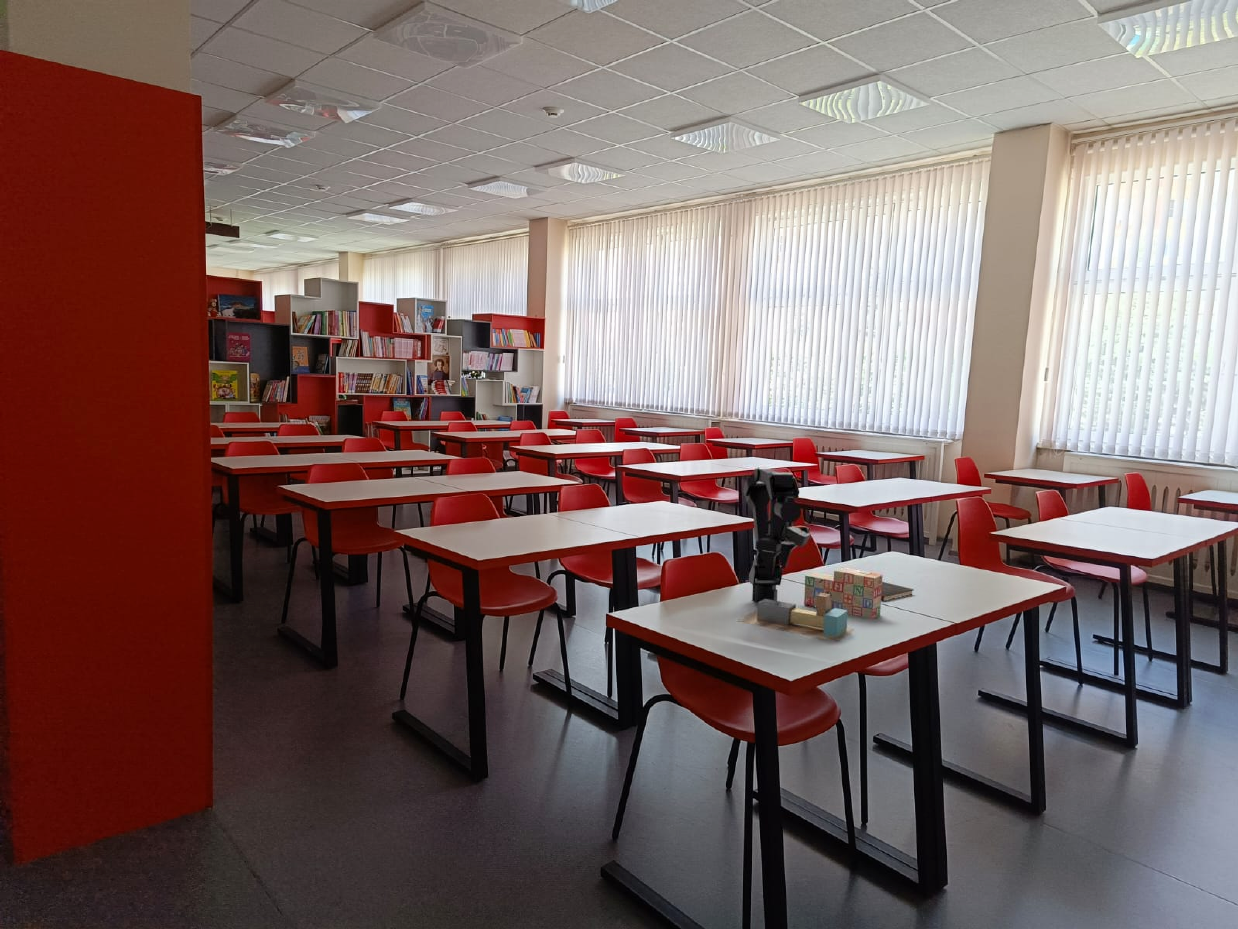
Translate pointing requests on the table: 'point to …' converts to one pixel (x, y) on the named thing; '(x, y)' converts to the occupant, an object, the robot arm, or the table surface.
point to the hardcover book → (894, 591)
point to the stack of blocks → (847, 591)
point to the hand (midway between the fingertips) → (777, 571)
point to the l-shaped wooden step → (812, 613)
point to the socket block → (835, 622)
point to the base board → (793, 628)
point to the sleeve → (774, 612)
